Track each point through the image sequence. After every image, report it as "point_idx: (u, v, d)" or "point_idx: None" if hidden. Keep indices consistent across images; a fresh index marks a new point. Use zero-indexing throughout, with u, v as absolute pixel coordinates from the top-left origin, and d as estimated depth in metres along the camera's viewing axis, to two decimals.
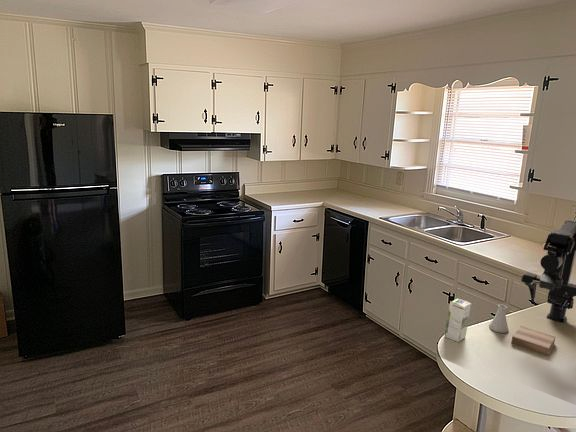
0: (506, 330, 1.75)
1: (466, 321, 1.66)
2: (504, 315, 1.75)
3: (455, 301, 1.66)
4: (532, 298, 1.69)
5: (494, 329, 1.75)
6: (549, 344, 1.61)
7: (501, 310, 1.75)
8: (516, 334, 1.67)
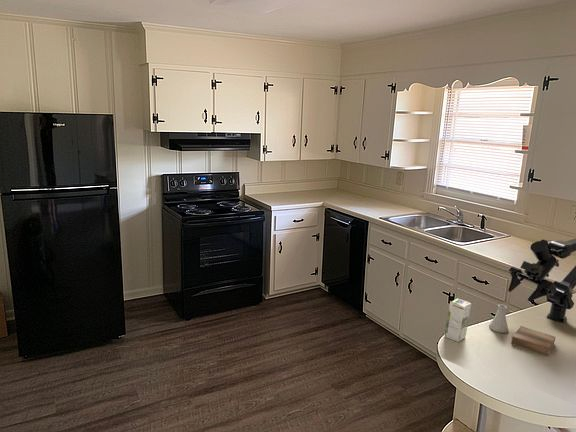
0: (506, 330, 1.75)
1: (466, 321, 1.66)
2: (504, 315, 1.75)
3: (455, 301, 1.66)
4: (510, 287, 1.81)
5: (494, 329, 1.75)
6: (549, 344, 1.61)
7: (501, 310, 1.75)
8: (516, 334, 1.67)
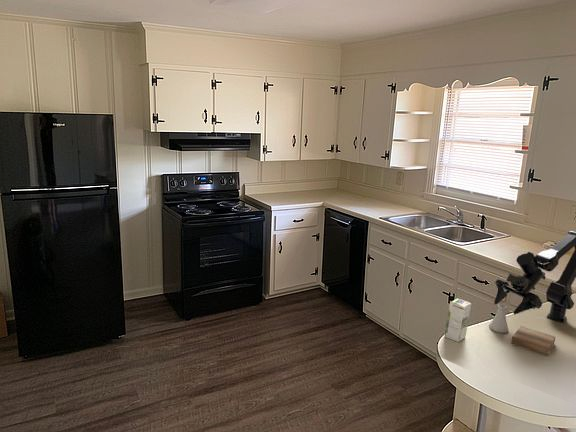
0: (506, 330, 1.75)
1: (466, 321, 1.66)
2: (504, 315, 1.75)
3: (455, 301, 1.66)
4: (495, 300, 1.80)
5: (494, 329, 1.75)
6: (549, 344, 1.61)
7: (501, 310, 1.75)
8: (516, 334, 1.67)
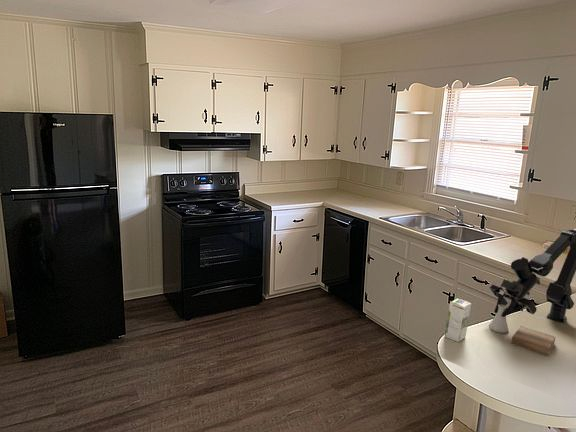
0: (506, 330, 1.75)
1: (466, 321, 1.66)
2: None
3: (455, 301, 1.66)
4: (496, 308, 1.77)
5: (494, 329, 1.75)
6: (549, 344, 1.61)
7: (501, 310, 1.75)
8: (516, 334, 1.67)
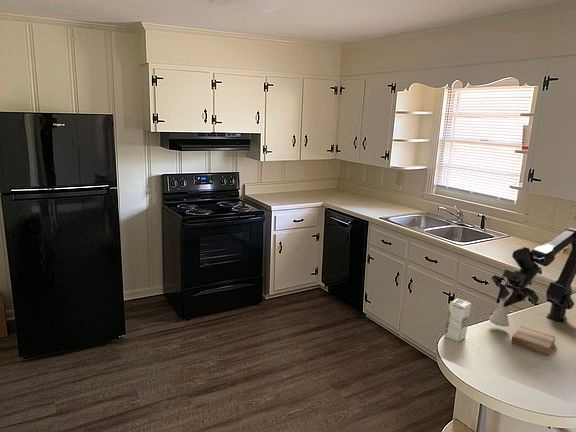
0: (506, 324, 1.74)
1: (466, 321, 1.66)
2: (505, 308, 1.74)
3: (455, 301, 1.66)
4: (498, 298, 1.76)
5: (495, 322, 1.74)
6: (549, 344, 1.61)
7: (502, 303, 1.74)
8: (516, 334, 1.67)
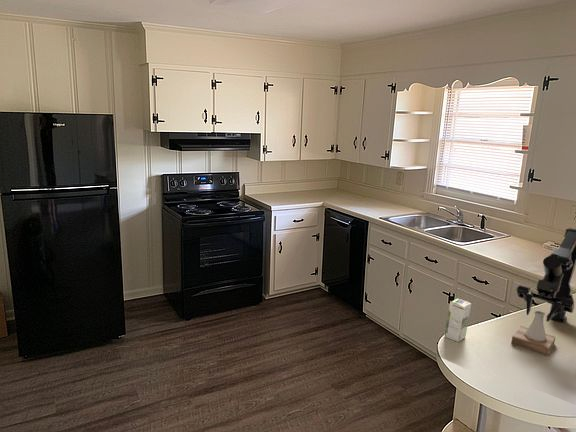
0: (545, 337, 1.64)
1: (466, 321, 1.66)
2: (542, 322, 1.63)
3: (455, 301, 1.66)
4: (527, 310, 1.66)
5: (535, 339, 1.63)
6: (549, 344, 1.61)
7: (540, 317, 1.63)
8: (516, 334, 1.67)
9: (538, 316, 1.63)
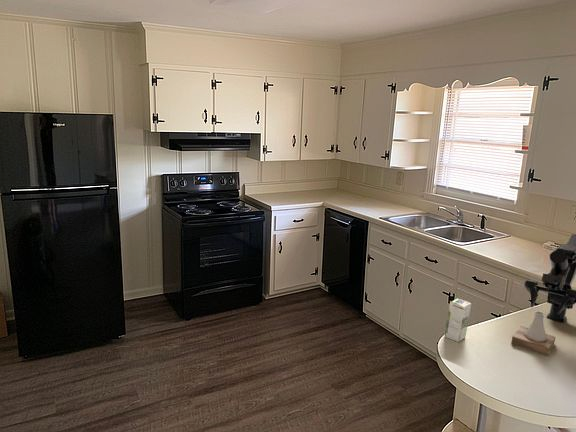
0: (545, 337, 1.64)
1: (466, 321, 1.66)
2: (542, 322, 1.63)
3: (455, 301, 1.66)
4: (532, 302, 1.74)
5: (535, 339, 1.63)
6: (549, 344, 1.61)
7: (540, 317, 1.63)
8: (516, 334, 1.67)
9: (538, 316, 1.63)
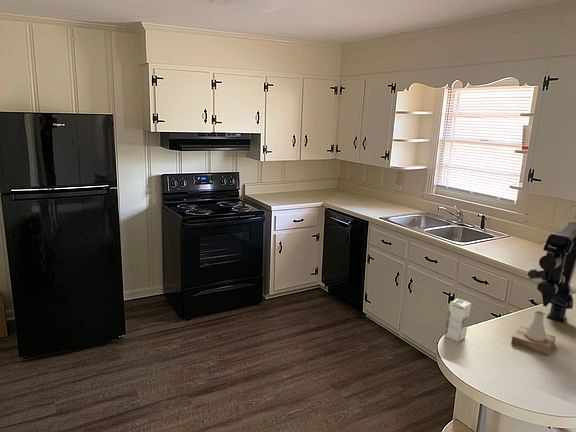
0: (545, 337, 1.64)
1: (466, 321, 1.66)
2: (542, 322, 1.63)
3: (455, 301, 1.66)
4: None
5: (535, 339, 1.63)
6: (549, 344, 1.61)
7: (540, 317, 1.63)
8: (516, 334, 1.67)
9: (538, 316, 1.63)
